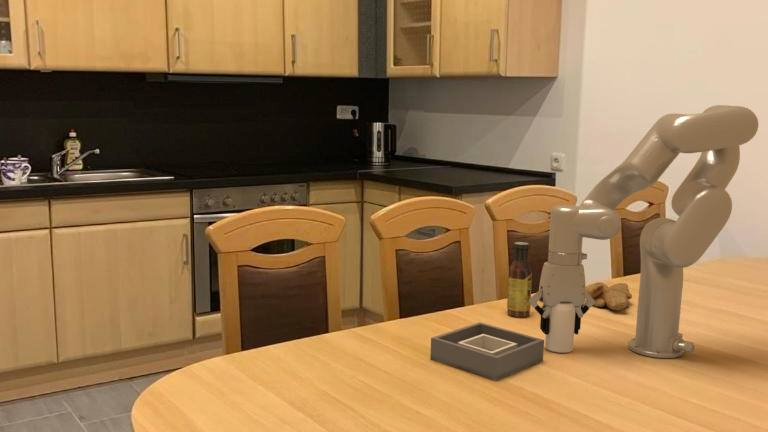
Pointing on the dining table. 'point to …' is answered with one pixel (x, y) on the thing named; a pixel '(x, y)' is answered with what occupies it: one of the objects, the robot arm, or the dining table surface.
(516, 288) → the sauce bottle
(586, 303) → the robot arm
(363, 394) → the dining table surface
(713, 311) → the dining table surface
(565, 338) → the can
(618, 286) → the ginger root
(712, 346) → the dining table surface
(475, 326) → the box
